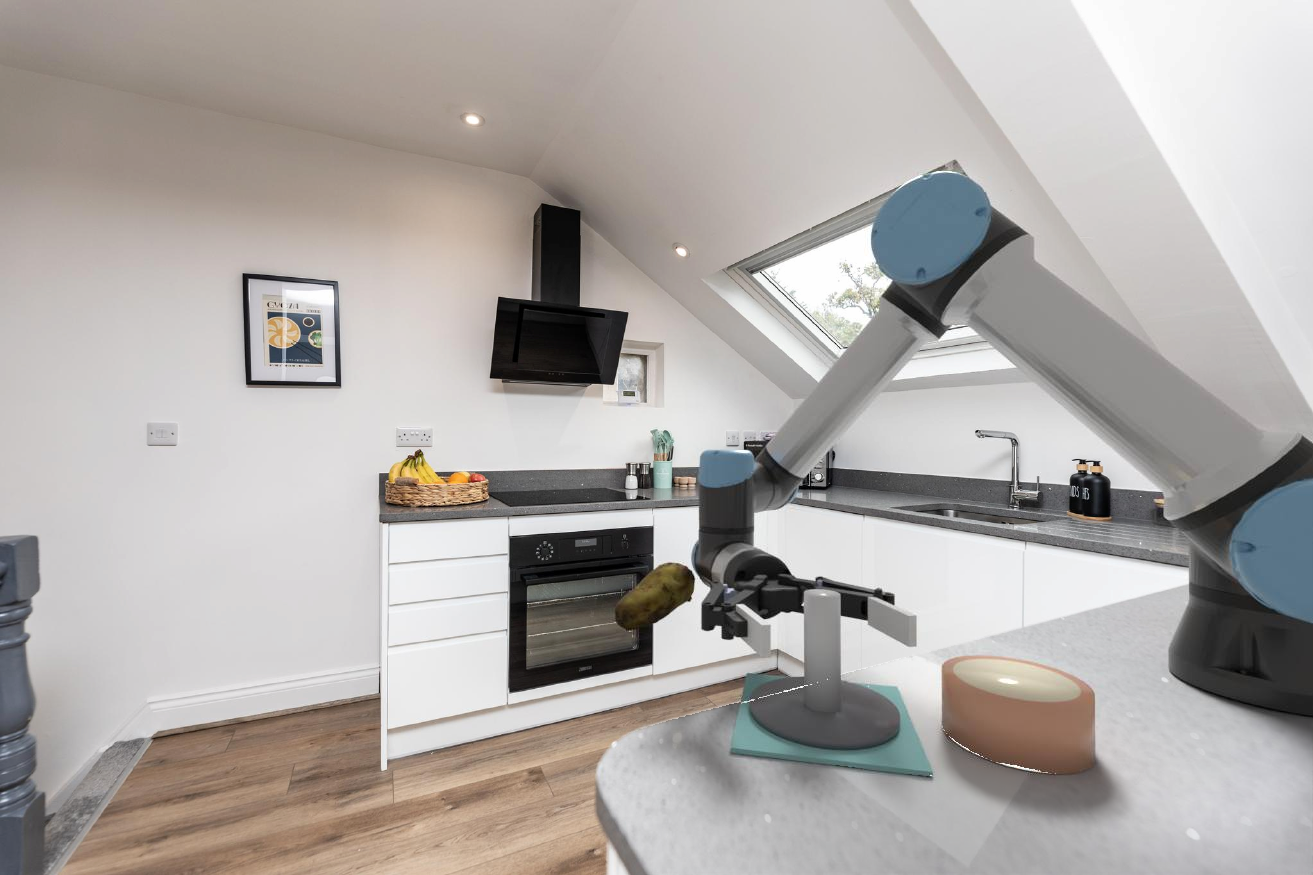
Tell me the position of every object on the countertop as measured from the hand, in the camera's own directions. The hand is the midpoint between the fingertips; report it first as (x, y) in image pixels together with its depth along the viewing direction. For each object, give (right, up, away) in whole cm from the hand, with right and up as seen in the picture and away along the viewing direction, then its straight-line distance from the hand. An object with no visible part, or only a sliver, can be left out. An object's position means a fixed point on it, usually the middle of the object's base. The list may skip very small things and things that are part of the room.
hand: (841, 636), depth 50 cm
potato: (-16, -9, +31) cm, 36 cm away
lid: (-1, -8, +3) cm, 9 cm away
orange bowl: (+14, -8, 0) cm, 17 cm away
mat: (-1, -8, +3) cm, 9 cm away
